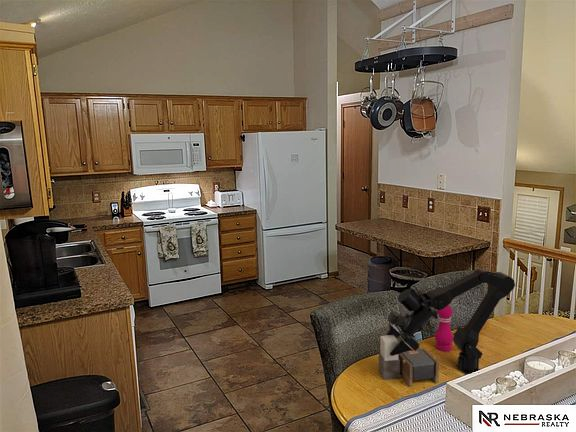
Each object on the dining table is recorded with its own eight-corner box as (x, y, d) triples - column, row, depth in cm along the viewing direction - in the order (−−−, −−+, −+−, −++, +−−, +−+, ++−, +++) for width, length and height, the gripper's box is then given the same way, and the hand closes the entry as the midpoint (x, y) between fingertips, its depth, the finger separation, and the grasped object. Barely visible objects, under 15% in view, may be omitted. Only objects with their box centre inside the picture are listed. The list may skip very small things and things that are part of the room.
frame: (425, 368, 168) (425, 347, 167) (439, 383, 158) (440, 361, 156) (395, 371, 166) (395, 351, 165) (408, 387, 156) (408, 365, 154)
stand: (394, 369, 168) (394, 352, 167) (399, 378, 161) (400, 360, 160) (378, 370, 167) (378, 353, 166) (383, 379, 161) (383, 361, 160)
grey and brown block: (417, 361, 170) (418, 346, 169) (434, 377, 157) (434, 361, 156) (398, 363, 168) (398, 348, 167) (412, 380, 156) (413, 364, 155)
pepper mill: (431, 344, 187) (432, 299, 184) (448, 343, 188) (449, 298, 185) (438, 352, 180) (440, 305, 177) (456, 351, 181) (457, 304, 178)
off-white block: (393, 352, 166) (393, 335, 165) (398, 359, 161) (398, 341, 160) (380, 353, 166) (380, 335, 165) (384, 360, 160) (384, 342, 159)
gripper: (394, 295, 170) (365, 324, 171) (410, 314, 151) (378, 346, 152) (413, 314, 171) (385, 343, 172) (432, 334, 153) (400, 366, 154)
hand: (386, 349), depth 163 cm, fingers open, 9 cm apart
